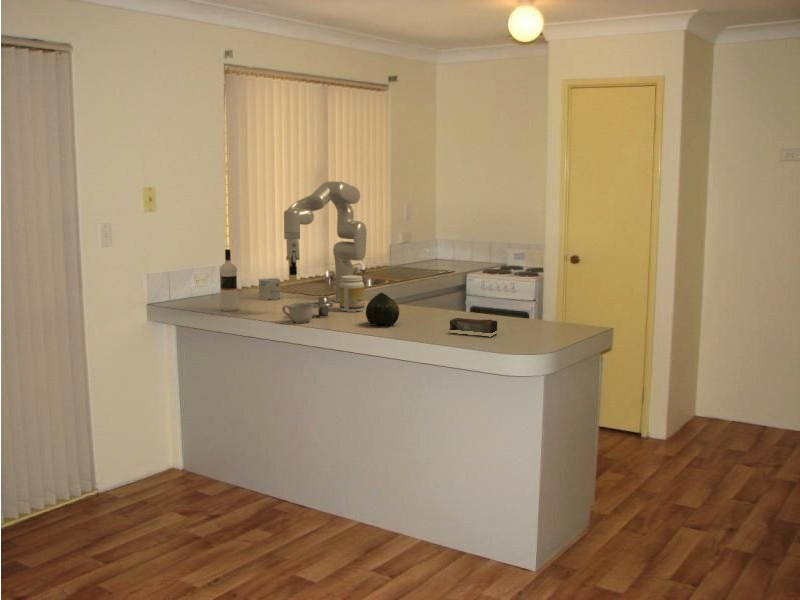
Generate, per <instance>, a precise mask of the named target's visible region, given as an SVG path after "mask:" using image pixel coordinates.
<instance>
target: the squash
mask: <svg viewBox="0 0 800 600" xmlns="http://www.w3.org/2000/svg"><path fill="white" fill-rule="evenodd" d="M365 308H366V309H365V317H366V320H367V321H368V323H369V324H370V325H372V324H379V325H384V326H385V325H390V326H392V325H394V324H396V323H397V322H398V320H399V317H400V308H399V305H398V303H397V302H396V301H395V300H394V299H393V298H391V297H390V296H388V295H387V294H386V293H383V292H379V293H378V294H376V295H375V296H374V297H373V298H372V299H370V301H369V302H368V304H367V305H366V307H365ZM391 324H392V325H391Z"/></svg>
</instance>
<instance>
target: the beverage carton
mask: <svg viewBox="0 0 800 600" xmlns="http://www.w3.org/2000/svg"><path fill="white" fill-rule="evenodd" d="M450 330H461V331H473V332H482V333H493V332H495V331H497V332H498V320H494V319H493V320H492V319H478V318H477V319H475V318H474V319H473V318H463V317H454V318H452V319H450V320H449V331H450Z"/></svg>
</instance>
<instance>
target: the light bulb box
mask: <svg viewBox="0 0 800 600" xmlns="http://www.w3.org/2000/svg"><path fill="white" fill-rule="evenodd" d="M258 289H259V292H258V293H259V300H260V299H261V300H260V301H269V300H268V299H276V300H281V280H280V279H279V278H277V277H276V278H258Z"/></svg>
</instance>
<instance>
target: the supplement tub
mask: <svg viewBox="0 0 800 600" xmlns="http://www.w3.org/2000/svg"><path fill="white" fill-rule="evenodd" d="M341 280H342V282H341V283H340V303H339V310H340V311H341V312H344V311H347V313H357V312H356V311H360V312H363V311H365V284H364V281H363V276H362V275H354V274H353V275H349V276H342V277H341ZM362 310H363V311H362Z"/></svg>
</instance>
